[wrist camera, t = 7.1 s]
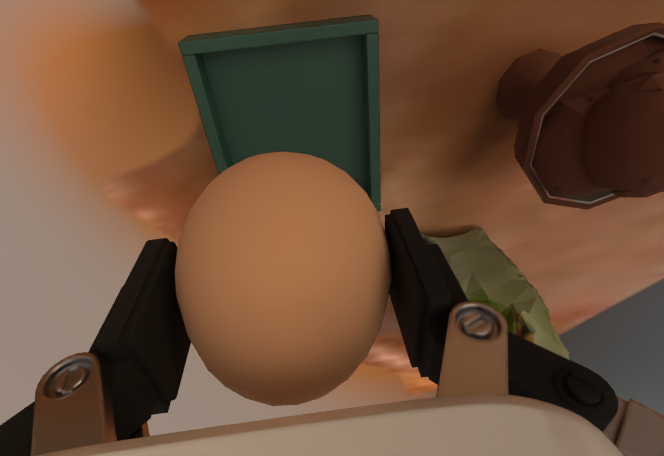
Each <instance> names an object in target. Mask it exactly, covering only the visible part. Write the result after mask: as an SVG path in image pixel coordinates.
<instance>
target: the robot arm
mask: <svg viewBox="0 0 664 456" xmlns="http://www.w3.org/2000/svg"><path fill="white" fill-rule="evenodd" d="M385 234H386V238H387V242H388V247H389V251H390V261H391V278H392V280H391V285H390V290H389V294H390V298H391V301H392V304H393V307H394V311H395V314H396V317H397V321H398V324H399V327H400V330H401V334H402V337H403V340H404V344H405V347H406V350H407V353H408V357H409V360H410V363H411V366H412V367H418V369H419V372H420V375H421V377H429V380H431V381H432V382H434V383H436V384H437V385H438V388H437V395H436V397H434V398H425V399H417V400H408V401H400V402H392V403H385V404H377V405H370V406H363V407H355V408H348V409H340V410H333V411H326V412H318V413H310V414H304V415H296V416H289V417H282V418H275V419H267V420H261V421H253V422H246V423H239V424H232V425H224V426H217V427H210V428H203V429H197V430H189V431H183V432H176V433H169V434H162V435H155V436H150V435H149V430H148V424H147V421H148V420H149V419H150V418H151V415H153V414H159V413H167V412H168V410H169V406H170V402H171V400H175V399H176V397H177V394H178V390H179V386H180V382H181V378H182V374H183V371H184V366H185V363H186V359H187V355H188V351H189V347H190V344H191V340H190V339H189V337H188V335H187V331H186V328H185V324H184V321H183V317H182V314H181V311H180V307H179V304H178V300H177V297H176V284H175V265H176V257H177V246H176V244H175V243H174V242H170V241H169V240H168V239H167V238H163V239H155V240H149V241H147V242H146V244H145V246H144V248H143V249H142V251H141V253H140V255H139V257H138V259H137V261H136V263H135V265H134V267H133V269H132V271H131V273H130V275H129V277H128V279H127V280H126V283H125V284H124V286H123V287H122V288H121V290H120V292H119V294H118V296H117V298H116V300H115V302H114V304H113V306H112V308H111V310H110V312H109V313H108V315H107V317H106V319H105V321H104V323H103V325H102V327H101V329H100V331H99V333H98V335H97V337H96V339H95V340H94V343H93V344H92V346H91V348H90V350H89V352H88V353H87V352H84V353H77V354H74V355H71V356H68V357H66V358H65V359H63V360H61V361H59V362H58V363H57V364H55V365H54V366H53V367H51V368H50V369H49V370H48V371H47V372H46V373H45V374H44V375H43V377H42V378H41V380H40V382H39V383H38V385H37V389H36V393H35V401H34V402H33V403H32V404H30V405H29V406H27V407H26V408H24V409H23V410H22V411H20V412H19V413H17V414H16V415H15V416H13V417H12V418H10V419H9V420H7V421H6V422H5V423H3V424H2V425H0V456H664V415H661V414H660V413H658V412H656V411H654V410H652V409H650V408H648V407H646V406H644V405H642V404H640V403H639V402H637V401H635V400H633V399H631V398H630V399H629V401H628V402H627V401H625V400H623V399H621V398H619V397H617V396H616V395H615V392H614V390H613V389H612V388H611V387H610V385H609V384H608V382H606V381H605V380H604V379H603V378H602V377H601V376H599V375H598V374H597V373H595V372H593V371H591V370H590V369H588V368H585V367H584V366H582V365H579V364H577V363H575V362H573V361H571V360H569V359H566V358H564V357H562V356H560V355H558V354H556V353H554V352H551V351H549V350H547V349H545V348H543V347H541V346H539V345H536V344H534V343H532V342H530V341H528V340H526V339H524V338H521V337H519V336H517V335H515V334H513V333H511V332H509V331H508V327H507V322H506V320H505V319H504V317H503V315H502V314H501V313H500V312H499V311H497V310H496V309H495V308H493V307H491V306H490V305H488V304H485V303H481V302H476V301H468V299H467V297H466V295H465V293H464V291H463V289H462V288H461V286H460V284H459V282H458V280H457V278H456V276H455V274H454V273H453V271H452V269H451V267H450V265H449V263H448V261H447V260H446V258H445V256H444V254H443V252H442V250H441V248H440V247H439V245H438V244H436V243H434V244H426V243H425V241H424V239H423V237H422V235H421V233H420V231H419V229H418V227H417V225H416V223H415V221H414V219H413V217H412V215H411V213H410V211H409V209H408V208H403V209H395V210H391V212H390V214H389V215H385Z"/></svg>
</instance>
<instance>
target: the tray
mask: <svg viewBox="0 0 664 456" xmlns="http://www.w3.org/2000/svg"><path fill="white" fill-rule="evenodd" d="M178 44H179V48H180V51H181V54H182V55H183V61H184V64H185V67H186V70H187V73H188V77H189V80H190V83H191V86H192V89H193V93H194V96H195V99H196V103H197V106H198V109H199V112H200V115H201V119H202V122H203V125H204V128H205V132H206V135H207V138H208V141H209V145H210V148H211V151H212V154H213V158H214V161H215V164H216V167H217V170H218V174H221V173H222V172H223V171H224V170H226V169H227V168H229V167H231V166H233V165H235V164H237V163H239V162H241V161H243V160H245V159H246V158H249V157H252V156H256V155H259V154H265V153H272V152H293V153H301V154H309V155H312V156H315V157H318V158H321V159H324V160H326V161H328V162H329V163H331V164H333V165H334V166H336V167H338V168H340V169H341V170H343V171H345V172H346V173H347V174H348V175H349V176H350V177H351V178H352V179H353V180H354V181H355V182H356V183H357V184H358V185H359V186H360V187H361V188H362V189H363V190H364V191H365V192H366V193H367V195H368V197H369V198H370V200H371V202H372V203H373V205H374V207H375V208H376V210H377V212H378V211H380V210H381V204H380V203H381V193H380V107H379V34H378V19H377V18H375V17H373V16H372V15H362V16H354V17H345V18H336V19H328V20H319V21H310V22H302V23H293V24H284V25H276V26H267V27H258V28H250V29H241V30H232V31H224V32H215V33H206V34H198V35H189V36H186V37H185V38H184V39H183V40H181V41H180V42H178Z"/></svg>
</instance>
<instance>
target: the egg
mask: <svg viewBox="0 0 664 456" xmlns="http://www.w3.org/2000/svg"><path fill="white" fill-rule="evenodd" d="M391 280H392V278H391V261H390V251H389V247H388V242H387V238H386V234H385V231H384V228H383V226H382V223H381V221H380V218H379V215H378V213H377V210H376V208H375V207H374V205H373V203H372V202H371V200H370V198H369V197H368V195H367V193H366V192H365V191H364V190H363V189H362V188H361V187H360V186H359V185H358V184H357V183H356V182H355V181H354V180H353V179H352V178H351V177H350V176H349V175H348V174H347V173H346V172H345V171H343V170H341V169H340V168H338V167H336V166H334V165H333V164H331V163H329V162H328V161H326V160H324V159H321V158H318V157H315V156H312V155H309V154H301V153H293V152H272V153H265V154H259V155H256V156H252V157H249V158H246V159H245V160H243V161H241V162H239V163H237V164H235V165H233V166H231V167H229V168H227V169H226V170H224V171H223V172H222V173H221V174H219V175H218V176H217V177H216V178H215V179H214V180H212V181H211V182H210V183H209V184H208V186H207V187H206V188H205V190H204V191H203V192H202V194H201V195H200V196H199V198H198V199H197V200H196V202H195V203H194V205H193V206H192V208H191V210H190V211H189V213H188V216H187V218H186V221H185V224H184V227H183V230H182V233H181V236H180V239H179V241H178V248H177V257H176V265H175V284H176V297H177V300H178V304H179V307H180V311H181V314H182V317H183V321H184V324H185V328H186V331H187V335H188V337H189V339H190V340H191V342H192V344H193V345H194V347H195V349H196V350H197V352H198V354H199V356H200V357H201V359H202V361H203V362H204V364H205V366H206V367H207V369H208V370H209V371H210V372H211V373H212V374H213V375H214V376H215V377H216V378H217V379H218V380H219V381H220V382H221V383H222V384H223V385H224V386H225V387H227V388H229V389H231V390H232V391H234V392H236V393H238V394H239V395H241V396H243V397H245V398H247V399H250V400H254V401H257V402H261V403H264V404H267V405H271V406H279V405H298V404H302V403H305V402H308V401H311V400H315V399H318V398H320V397H322V396H324V395H326V394H328V393H329V392H331V391H332V390H333V389H335V388H336V387H338V386H339V385H341V384H342V383H343V382H344V381H346V380H347V379H349V377H350V376H351V375H352V374H353V372H354V371H355V370H356V368H357V367H358V366H359V365H360V364H361V362H362V361H363V360H364V359H365V357H366V356H367V354H368V353H369V351H370V349H371V347H372V345H373V343H374V340H375V338H376V336H377V334H378V332H379V330H380V328H381V324H382V320H383V316H384V312H385V308H386V304H387V299H388V294H389V290H390V285H391Z"/></svg>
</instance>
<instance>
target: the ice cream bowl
mask: <svg viewBox="0 0 664 456" xmlns="http://www.w3.org/2000/svg"><path fill="white" fill-rule="evenodd" d="M496 103H497V104H498V106H499V108H500V109H501V111H502V113H503V114H504V116H505V118H510V119H515V120H520V121H519V126H518V131H517V136H516V140H515V145H514V149H515V158H516V159H517V161H518V163H519V164H520V166H521V167H522V169H523V171H524V172H525V174H526V175H527V177H528V179H529V180H530V182H531V183H532V185H533V186H534V188H535V190H536V191H537V193H538V194H539V196H540V197H541V199H542V201H543V202H544V203H547V204H554V205H561V206H567V207H574V208H581V209H590V208H593V207H595V206H598V205H601V204H603V203H606V202H609V201H611V200H614V199H617V198H619V197H649V196H651V195H654V194H656V193H659V192H664V24H662V23H659V22H658V23H649V24H639V25H633V26H630V27H628V28H625V29H623V30H620V31H618V32H615V33H613V34H611V35H609V36H606V37H604V38H602V39H600V40H598V41H595V42H593V43H591V44H589V45H586V46H584V47H582V48H580V49H578V50H575V51H573V52H571V53H569V54H567V55H564V56H562V57H561V56H560V55H559V54H558V53H553V52H549V51H545V50H541V49H538V50H536V51H533V52H531V53H529V54H527V55H525V56H523V57H520V58H518V59H516V60H515V62H514V63H513V64H512V66H511V67H510V68H509V69H508V71H507V72H506V73H505V75H504V76H503V77H502V78H501V80H500V83H499V89H498V95H497V101H496Z"/></svg>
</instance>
